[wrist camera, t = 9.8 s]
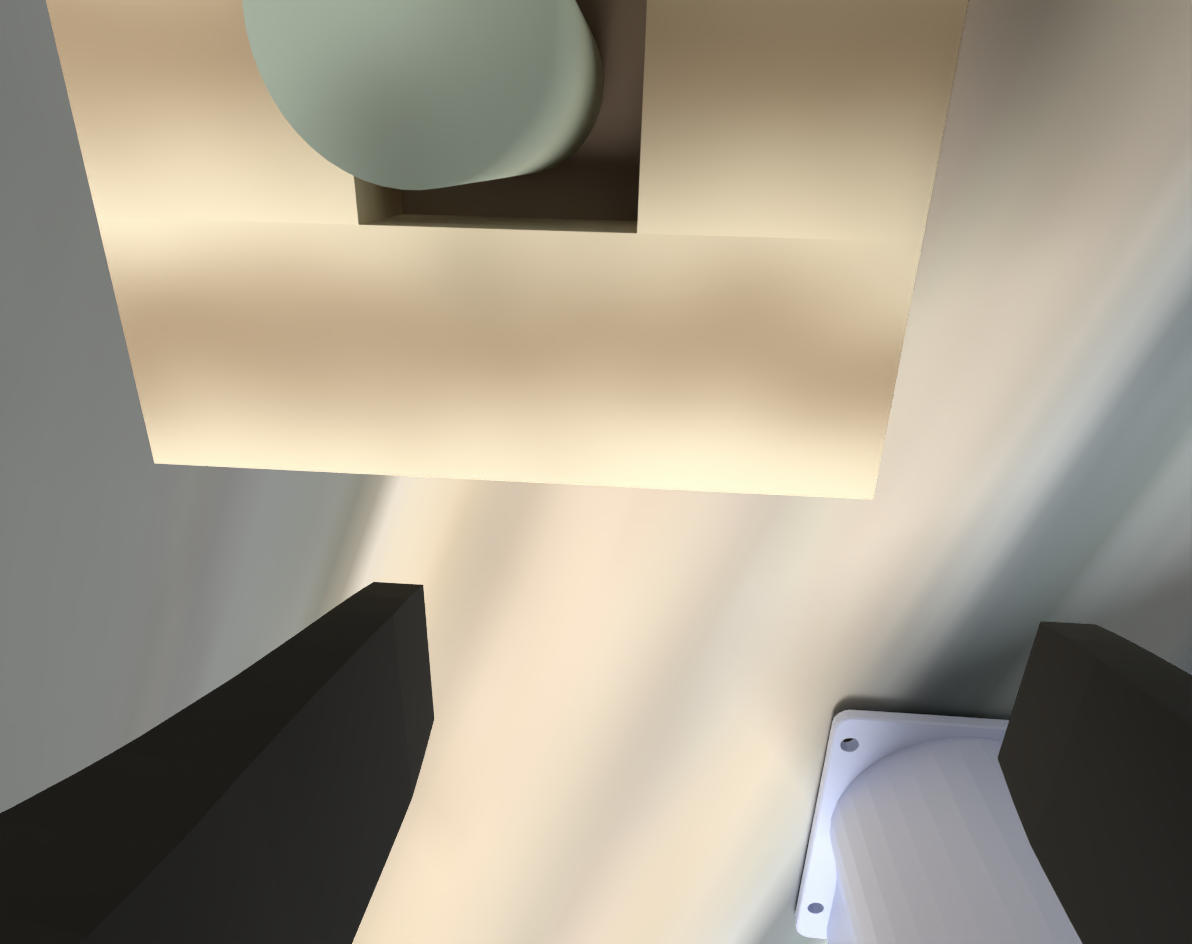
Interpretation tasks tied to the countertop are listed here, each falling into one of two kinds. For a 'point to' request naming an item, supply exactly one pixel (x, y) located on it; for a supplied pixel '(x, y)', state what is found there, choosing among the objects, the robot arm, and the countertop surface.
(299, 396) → the pocket block
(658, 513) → the countertop surface
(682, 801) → the countertop surface
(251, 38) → the pin
